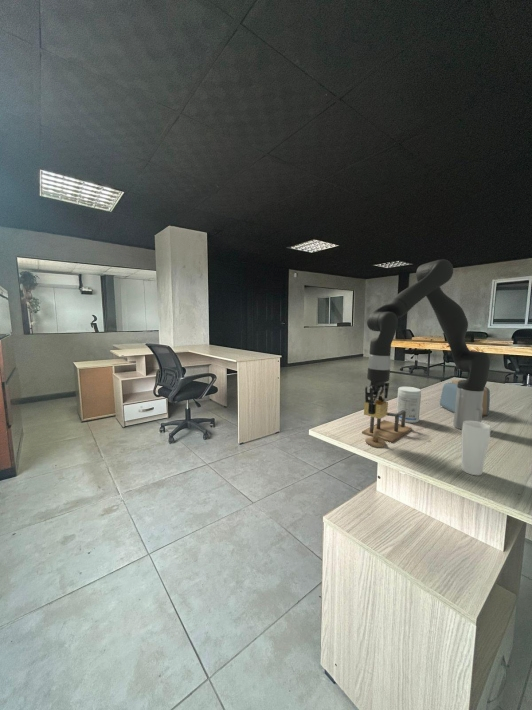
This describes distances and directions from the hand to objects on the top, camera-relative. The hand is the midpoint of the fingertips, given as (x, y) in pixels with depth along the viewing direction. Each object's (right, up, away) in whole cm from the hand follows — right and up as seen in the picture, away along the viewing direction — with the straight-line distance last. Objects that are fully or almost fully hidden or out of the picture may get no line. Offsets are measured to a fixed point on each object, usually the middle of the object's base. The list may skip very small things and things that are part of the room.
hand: (375, 411), depth 105 cm
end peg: (0, -12, +1) cm, 12 cm away
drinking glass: (+22, -15, -18) cm, 32 cm away
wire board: (+10, -10, +12) cm, 19 cm away
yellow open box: (0, -1, 0) cm, 1 cm away
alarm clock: (+61, -8, +41) cm, 74 cm away
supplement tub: (+25, -9, +27) cm, 37 cm away
